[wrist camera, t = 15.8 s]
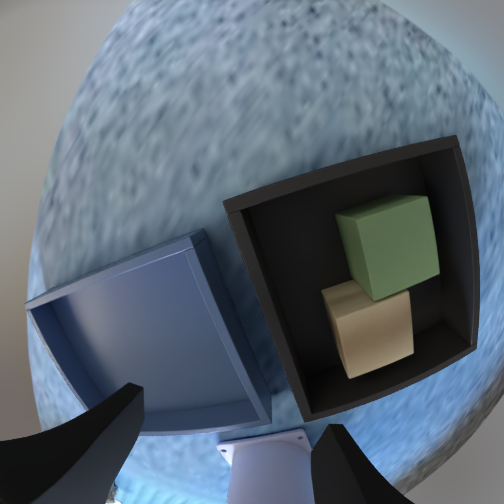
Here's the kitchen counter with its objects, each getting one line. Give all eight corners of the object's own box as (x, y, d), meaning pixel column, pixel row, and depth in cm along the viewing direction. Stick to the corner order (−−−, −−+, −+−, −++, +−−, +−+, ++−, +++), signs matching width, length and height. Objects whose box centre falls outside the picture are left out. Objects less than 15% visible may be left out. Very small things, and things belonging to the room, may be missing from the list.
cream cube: (389, 322, 16) (414, 353, 12) (334, 343, 17) (348, 379, 13) (380, 268, 16) (409, 291, 12) (320, 289, 16) (335, 319, 12)
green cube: (406, 255, 15) (440, 273, 11) (350, 276, 16) (373, 301, 12) (393, 193, 15) (428, 196, 11) (333, 212, 15) (355, 220, 11)
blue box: (271, 396, 19) (272, 423, 16) (117, 414, 20) (105, 434, 18) (203, 227, 16) (190, 235, 13) (45, 291, 18) (23, 303, 15)
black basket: (445, 321, 17) (476, 349, 12) (298, 379, 18) (304, 423, 14) (416, 144, 14) (456, 134, 10) (234, 198, 16) (222, 201, 11)
